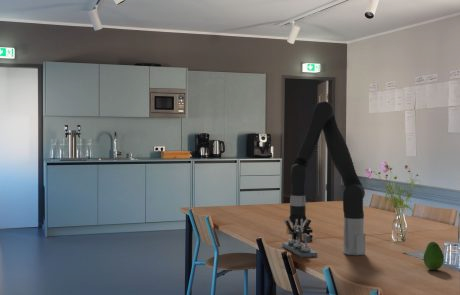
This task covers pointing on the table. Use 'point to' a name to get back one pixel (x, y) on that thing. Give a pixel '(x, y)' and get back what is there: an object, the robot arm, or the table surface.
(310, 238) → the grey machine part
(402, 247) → the table surface
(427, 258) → the avocado
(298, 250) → the level plate
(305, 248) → the knob near
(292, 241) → the knob far
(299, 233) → the knob mid
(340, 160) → the robot arm
